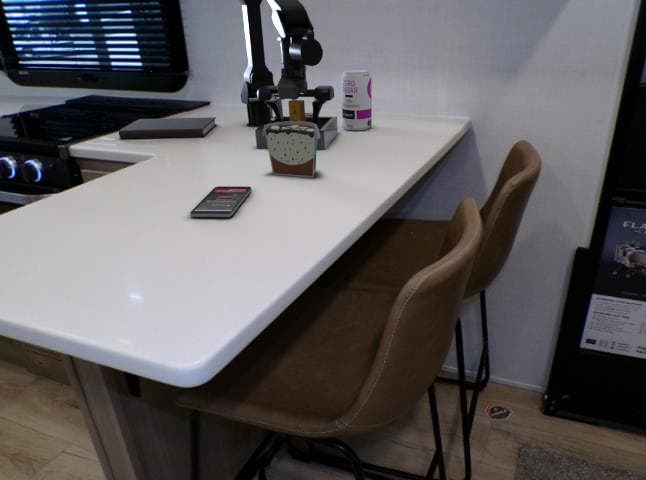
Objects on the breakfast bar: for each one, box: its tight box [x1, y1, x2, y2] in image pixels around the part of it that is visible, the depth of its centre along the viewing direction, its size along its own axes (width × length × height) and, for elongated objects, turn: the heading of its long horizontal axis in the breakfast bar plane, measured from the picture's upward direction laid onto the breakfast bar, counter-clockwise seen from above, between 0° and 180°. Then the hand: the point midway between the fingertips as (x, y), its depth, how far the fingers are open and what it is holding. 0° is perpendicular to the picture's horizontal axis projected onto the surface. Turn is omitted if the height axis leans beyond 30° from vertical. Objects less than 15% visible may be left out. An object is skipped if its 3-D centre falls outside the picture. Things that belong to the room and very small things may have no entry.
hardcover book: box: [118, 116, 218, 140], centre depth 149 cm, size 16×23×2 cm
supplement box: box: [288, 99, 306, 122], centre depth 135 cm, size 3×3×10 cm
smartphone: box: [189, 185, 252, 219], centre depth 95 cm, size 7×1×15 cm
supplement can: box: [340, 68, 373, 132], centre depth 145 cm, size 8×8×15 cm
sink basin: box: [254, 115, 339, 150], centre depth 136 cm, size 17×17×4 cm
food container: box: [263, 121, 320, 179], centre depth 110 cm, size 12×6×10 cm, turn 71°
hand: (298, 128), depth 136 cm, fingers open, 8 cm apart
